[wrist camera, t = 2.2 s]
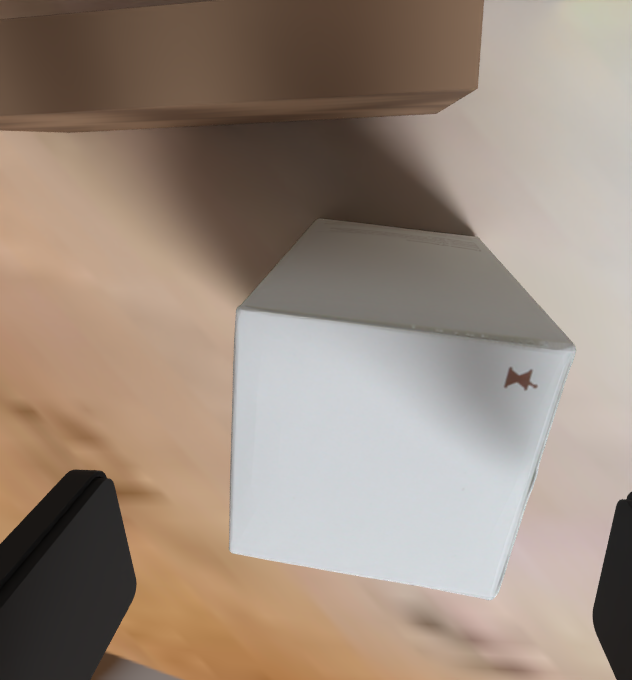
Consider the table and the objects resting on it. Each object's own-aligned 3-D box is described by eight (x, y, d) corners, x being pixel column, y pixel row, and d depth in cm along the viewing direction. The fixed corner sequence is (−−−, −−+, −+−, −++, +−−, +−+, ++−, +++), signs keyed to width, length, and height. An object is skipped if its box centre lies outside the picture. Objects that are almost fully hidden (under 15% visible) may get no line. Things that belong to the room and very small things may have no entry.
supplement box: (313, 213, 22) (229, 293, 10) (483, 235, 21) (596, 346, 10) (298, 363, 25) (219, 558, 13) (448, 386, 24) (503, 612, 12)
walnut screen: (438, 56, 19) (485, -24, 10) (436, 113, 20) (477, 88, 11) (58, 82, 21) (-192, 36, 12) (69, 132, 22) (-160, 125, 13)
